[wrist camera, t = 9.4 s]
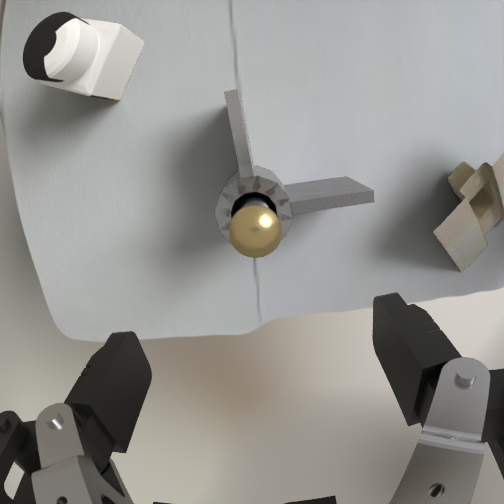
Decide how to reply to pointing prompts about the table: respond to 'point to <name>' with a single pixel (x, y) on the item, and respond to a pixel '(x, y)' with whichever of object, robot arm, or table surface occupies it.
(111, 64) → the medicine bottle
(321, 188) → the hinge
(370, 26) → the table surface
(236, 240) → the pin
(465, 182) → the beige folded piece
